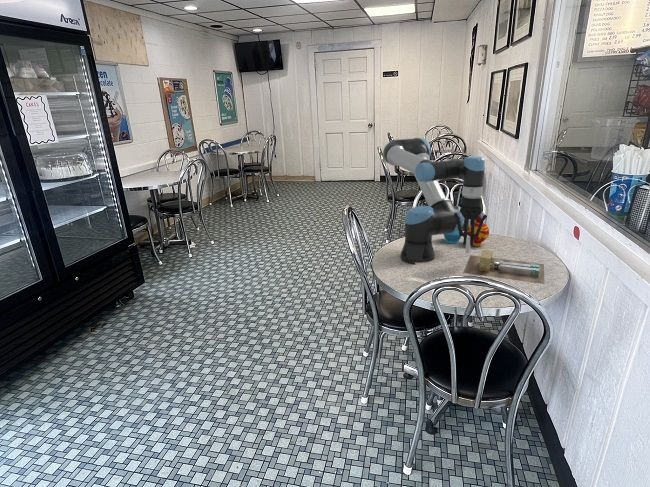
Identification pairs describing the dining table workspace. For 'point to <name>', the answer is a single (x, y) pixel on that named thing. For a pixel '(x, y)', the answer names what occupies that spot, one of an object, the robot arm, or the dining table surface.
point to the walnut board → (473, 269)
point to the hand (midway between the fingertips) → (467, 252)
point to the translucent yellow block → (485, 260)
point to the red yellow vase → (483, 232)
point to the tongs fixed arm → (515, 269)
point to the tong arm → (515, 264)
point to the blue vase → (452, 237)
